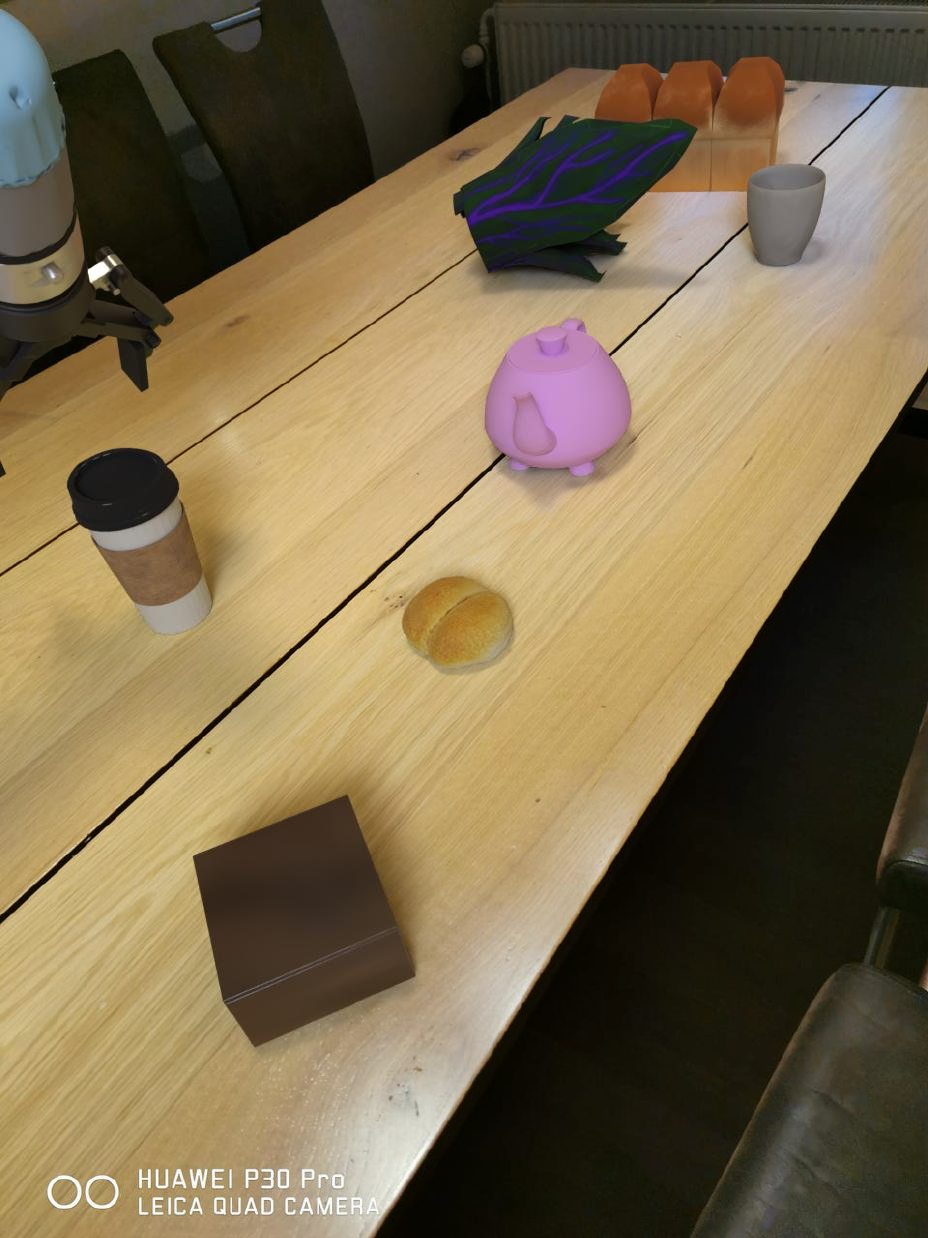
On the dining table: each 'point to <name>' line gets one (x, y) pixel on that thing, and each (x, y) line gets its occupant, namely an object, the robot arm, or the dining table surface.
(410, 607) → the bread roll
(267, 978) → the riser
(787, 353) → the dining table surface
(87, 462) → the coffee cup
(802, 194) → the mug
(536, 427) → the teapot
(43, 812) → the dining table surface
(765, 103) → the bread
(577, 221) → the decorative plant
